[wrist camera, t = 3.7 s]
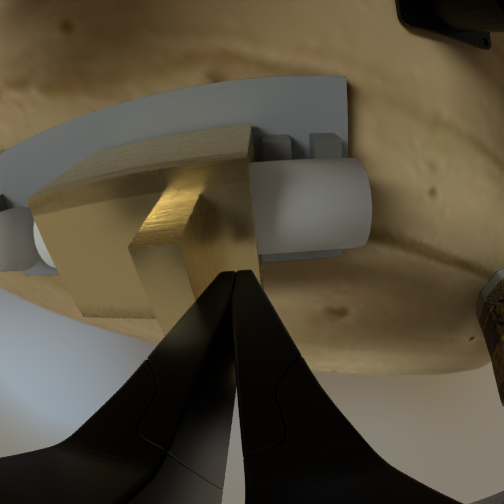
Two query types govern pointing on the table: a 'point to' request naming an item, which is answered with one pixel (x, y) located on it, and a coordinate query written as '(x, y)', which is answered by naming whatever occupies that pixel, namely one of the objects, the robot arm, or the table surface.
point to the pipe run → (262, 171)
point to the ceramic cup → (494, 324)
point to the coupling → (152, 222)
